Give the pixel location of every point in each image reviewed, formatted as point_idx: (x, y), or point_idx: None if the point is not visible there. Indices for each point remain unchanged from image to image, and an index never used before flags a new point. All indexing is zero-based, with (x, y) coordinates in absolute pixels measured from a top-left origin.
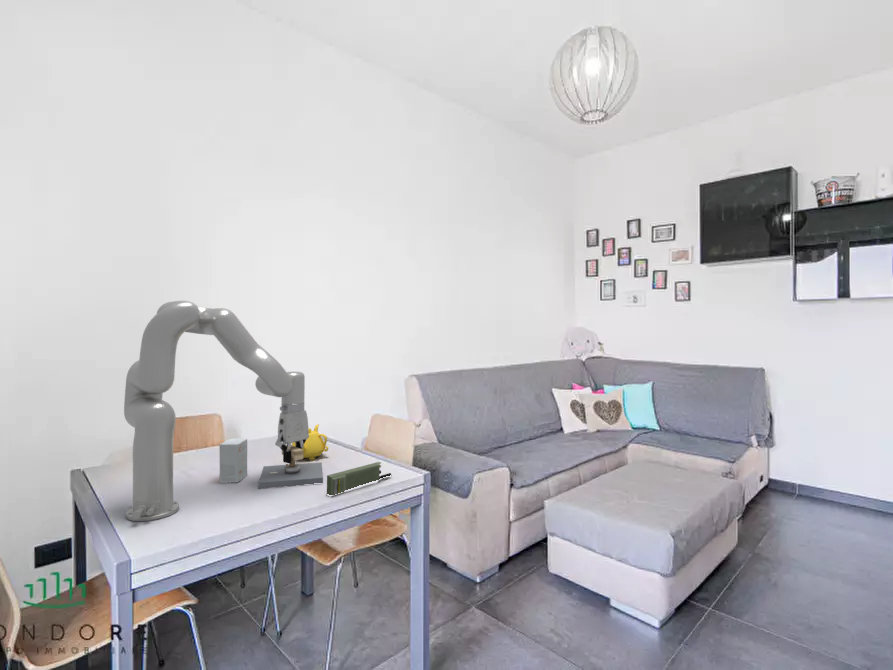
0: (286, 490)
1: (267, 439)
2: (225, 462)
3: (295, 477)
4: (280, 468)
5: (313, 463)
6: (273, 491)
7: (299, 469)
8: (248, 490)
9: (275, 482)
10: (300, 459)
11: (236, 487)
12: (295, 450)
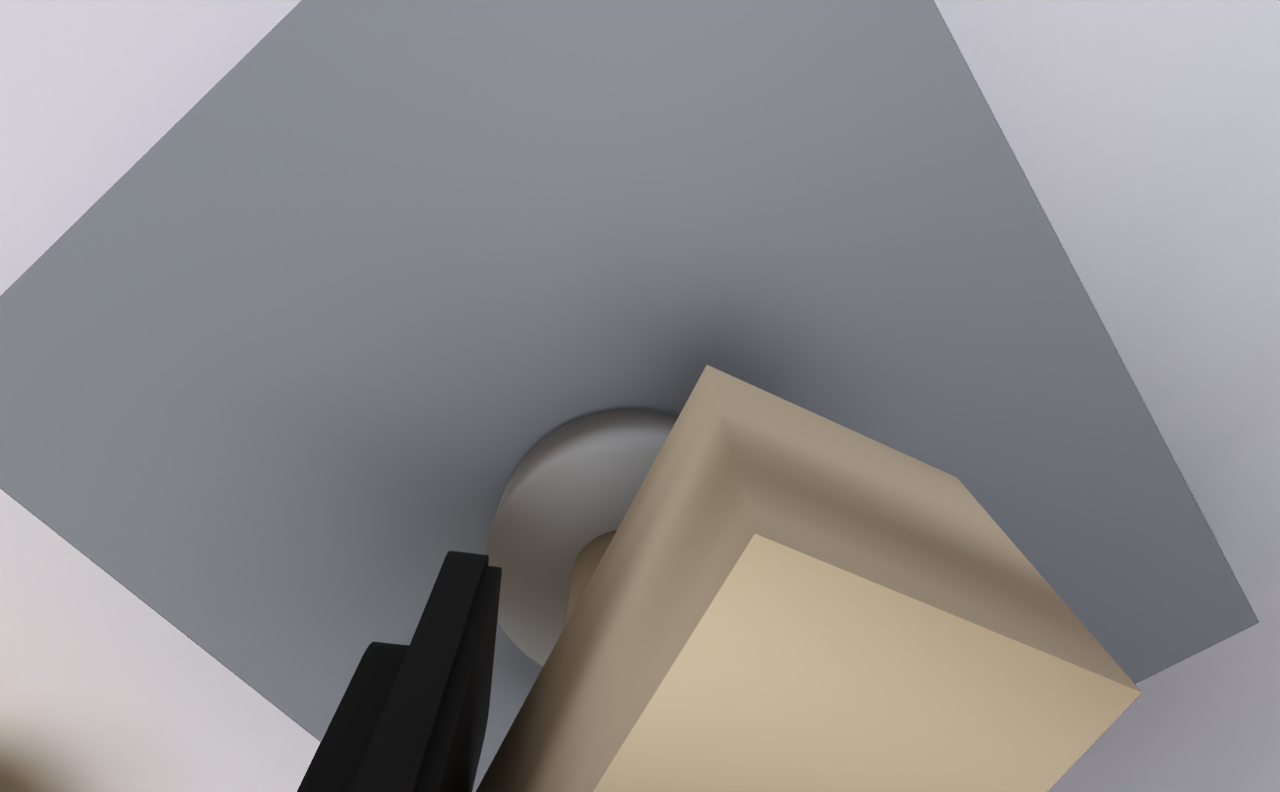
0: (1207, 159)
1: None
2: None
3: (893, 270)
4: None
5: (56, 492)
6: (1272, 320)
7: (578, 431)
8: (1258, 626)
9: (1156, 438)
10: (488, 559)
11: (1169, 788)
12: (961, 768)
